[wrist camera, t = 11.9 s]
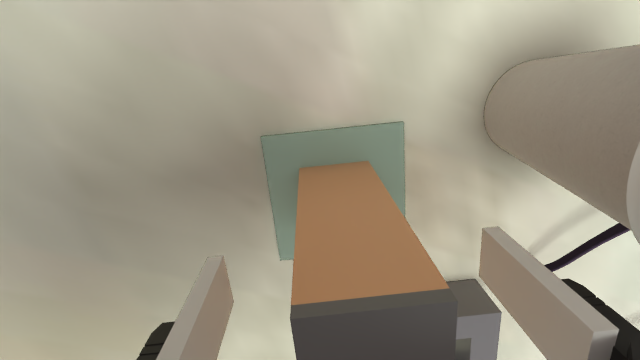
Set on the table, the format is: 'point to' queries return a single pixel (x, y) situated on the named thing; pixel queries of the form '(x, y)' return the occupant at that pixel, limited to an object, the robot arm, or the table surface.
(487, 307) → the grey square frame
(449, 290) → the plug
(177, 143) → the table surface
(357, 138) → the pad
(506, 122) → the coffee cup
